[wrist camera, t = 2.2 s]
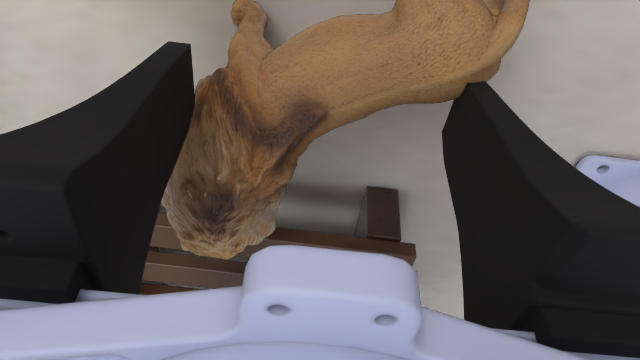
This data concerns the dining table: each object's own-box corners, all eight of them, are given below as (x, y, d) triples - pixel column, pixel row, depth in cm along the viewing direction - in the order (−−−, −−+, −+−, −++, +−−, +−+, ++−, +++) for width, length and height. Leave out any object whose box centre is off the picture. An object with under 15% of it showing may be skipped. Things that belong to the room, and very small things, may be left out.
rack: (411, 191, 26) (422, 302, 21) (349, 365, 40) (348, 454, 35) (94, 152, 25) (34, 258, 20) (146, 342, 39) (117, 431, 34)
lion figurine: (254, 125, 24) (231, 298, 18) (163, 51, 21) (101, 232, 15) (568, -73, 17) (695, 107, 11) (503, -230, 14) (633, -93, 8)
